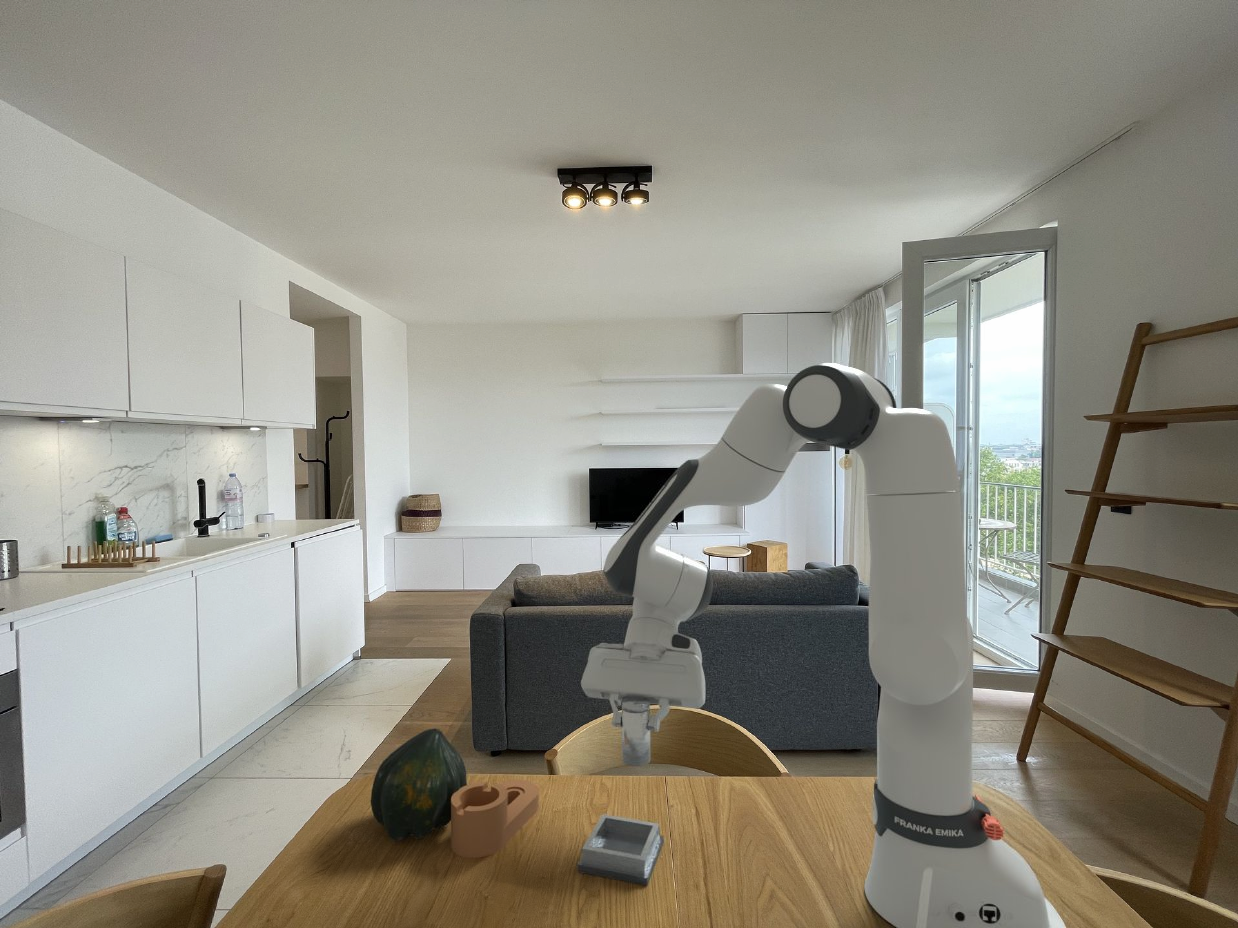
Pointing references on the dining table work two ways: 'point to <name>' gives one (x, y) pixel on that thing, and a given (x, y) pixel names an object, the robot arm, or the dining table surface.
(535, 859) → the dining table surface
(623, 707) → the upright metal cylinder
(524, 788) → the bracket
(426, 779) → the squash
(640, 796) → the dining table surface
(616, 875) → the square open tray
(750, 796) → the dining table surface
